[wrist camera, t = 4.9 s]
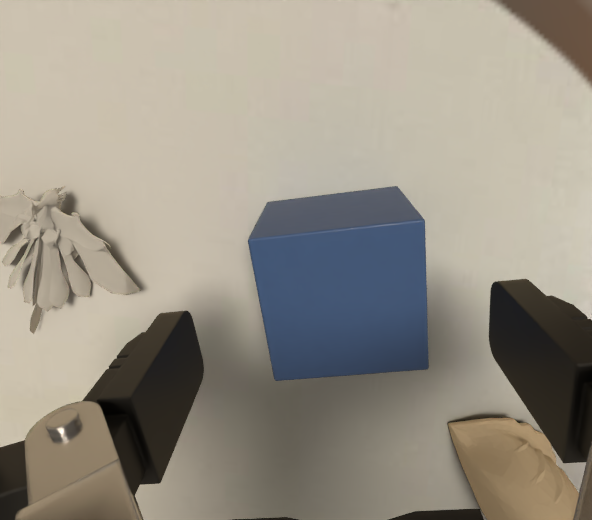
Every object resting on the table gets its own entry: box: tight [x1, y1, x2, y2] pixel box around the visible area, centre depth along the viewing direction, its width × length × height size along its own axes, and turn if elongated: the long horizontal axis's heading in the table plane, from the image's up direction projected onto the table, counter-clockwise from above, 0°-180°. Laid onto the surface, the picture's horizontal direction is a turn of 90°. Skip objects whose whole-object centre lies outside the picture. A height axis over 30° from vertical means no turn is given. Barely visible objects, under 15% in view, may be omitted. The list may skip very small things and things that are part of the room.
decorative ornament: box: [448, 418, 579, 520], centre depth 18 cm, size 4×8×5 cm, turn 23°
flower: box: [0, 186, 141, 334], centre depth 17 cm, size 8×8×3 cm
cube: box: [248, 186, 429, 381], centre depth 15 cm, size 5×5×4 cm
